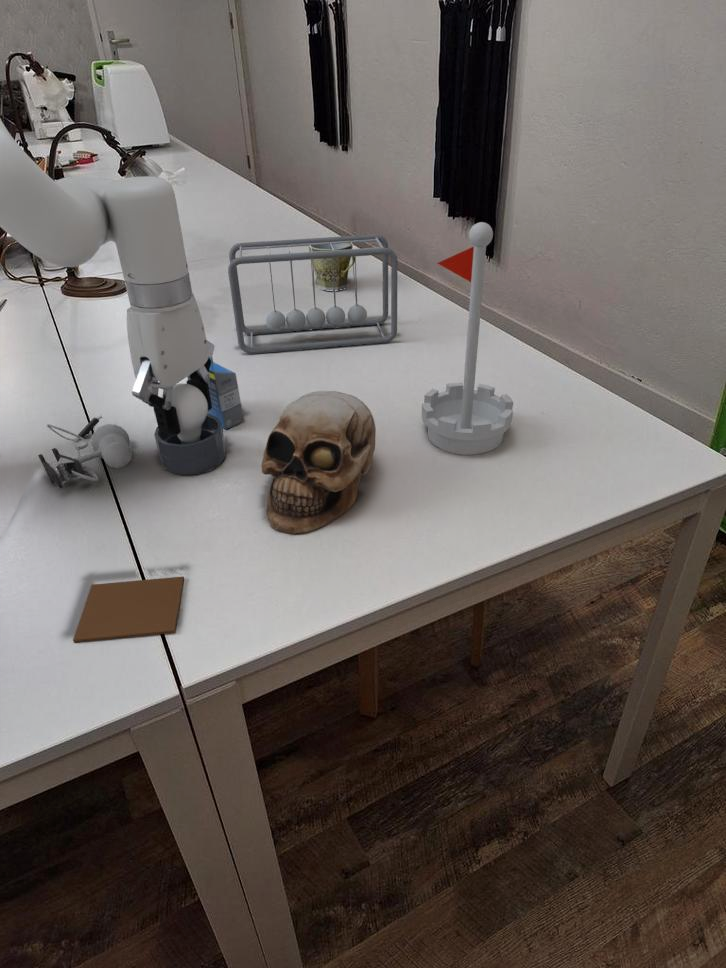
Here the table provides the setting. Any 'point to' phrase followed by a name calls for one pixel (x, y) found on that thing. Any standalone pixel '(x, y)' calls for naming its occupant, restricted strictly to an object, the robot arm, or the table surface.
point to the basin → (193, 449)
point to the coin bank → (317, 459)
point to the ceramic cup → (325, 267)
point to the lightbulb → (189, 411)
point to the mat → (130, 609)
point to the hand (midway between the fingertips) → (186, 418)
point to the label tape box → (224, 396)
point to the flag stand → (468, 373)
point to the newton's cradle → (314, 315)
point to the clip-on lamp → (106, 445)
